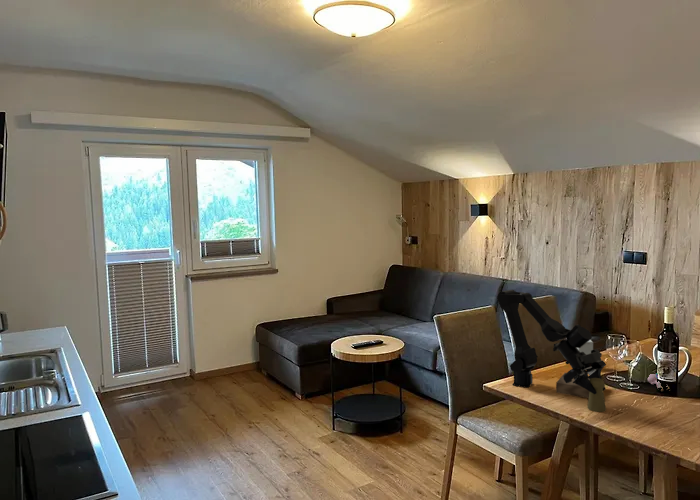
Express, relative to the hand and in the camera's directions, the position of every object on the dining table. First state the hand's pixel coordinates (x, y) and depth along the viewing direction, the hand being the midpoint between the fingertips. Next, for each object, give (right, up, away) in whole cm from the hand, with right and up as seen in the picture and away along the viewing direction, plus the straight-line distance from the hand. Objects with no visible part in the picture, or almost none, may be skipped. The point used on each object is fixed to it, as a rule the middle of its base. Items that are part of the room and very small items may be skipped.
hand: (600, 391), depth 183 cm
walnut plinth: (+1, -5, +20) cm, 21 cm away
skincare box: (+16, -2, +47) cm, 50 cm away
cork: (0, -7, +2) cm, 7 cm away
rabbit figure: (+33, -4, +22) cm, 40 cm away
